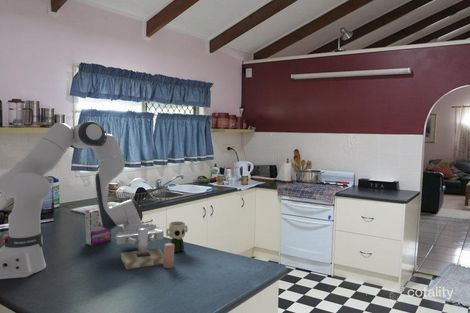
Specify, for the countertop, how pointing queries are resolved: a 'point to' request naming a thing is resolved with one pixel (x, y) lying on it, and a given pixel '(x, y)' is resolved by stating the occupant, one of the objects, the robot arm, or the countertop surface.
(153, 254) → the hole plate
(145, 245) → the steel pin
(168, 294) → the countertop surface
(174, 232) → the character mug
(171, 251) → the terracotta pin
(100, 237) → the candy bar box
